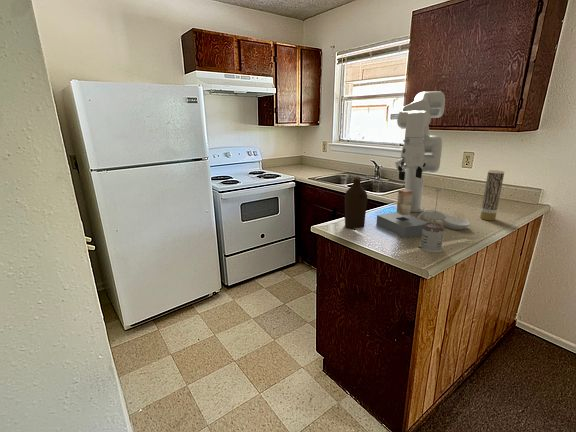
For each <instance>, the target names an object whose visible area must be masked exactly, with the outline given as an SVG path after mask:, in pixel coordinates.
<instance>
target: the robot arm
mask: <svg viewBox="0 0 576 432" xmlns="http://www.w3.org/2000/svg"><path fill="white" fill-rule="evenodd" d="M445 107H446V96H445V93H444V92H443V91H440V90H438V91H437V90H434V91H421V92H418V93H417V94H416V95H415V97H414V99H413V101H412V102H410V103H409V104H406V105H404V106H402V107H401V109H400V110H399V113H398V115H397V118H396V123H397V126H398V127H399V128H401V129H405V133H404V134H405V135H404V139H403V143H404V144H403V146H402V149H401V153H400V159H398V160H396V162H394V163H395V167H396V169H397V171H398V180H399V181H405V183H404V189H407V190H411V191H412V200H411V210H410V213H420V212H421V213H422V212H423V211H424V207H422V206H421V205H422V199H423V198H422V197H423V188H424V182H425V180H424V177H423V176H422V175H423V173H433V174H434V173H437V172H439V169H440V166H441V158H442V149H443V139H442V137H441V136H440V135H429V131H430V126H429V125H430V124H431V122H432V119H436V118H437V119H438V118H441V117H443V115H444V112H445Z"/></svg>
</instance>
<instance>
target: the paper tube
mask: <svg viewBox="0 0 576 432" xmlns="http://www.w3.org/2000/svg"><path fill="white" fill-rule="evenodd" d="M504 177H505V171H503V170H498V169H497V170H494V169H493V170H492V169H489V170H488V171H487V176H486V182H485V188H484V193H483V197H482V198H483V199H482V205H481V210H480V211H481V212H480V219H482V220H484V221H495V220H496V218H497V212H498V208H499V201H500V196H501V192H502V187H503V186H502V185H503V182H504Z"/></svg>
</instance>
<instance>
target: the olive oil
mask: <svg viewBox="0 0 576 432" xmlns="http://www.w3.org/2000/svg"><path fill="white" fill-rule="evenodd" d="M367 206H368V193H367V191H366V190H365V188H364V187H362V185H361V176H360V175H359V176H353V180H352V185H351V186H350V187H349V188H348V189H347V190H346V191H345V193H344V227H345V228H346V229H349V230H354V231H357V229H361V228H364V227H365V223H366V214H367Z"/></svg>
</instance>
